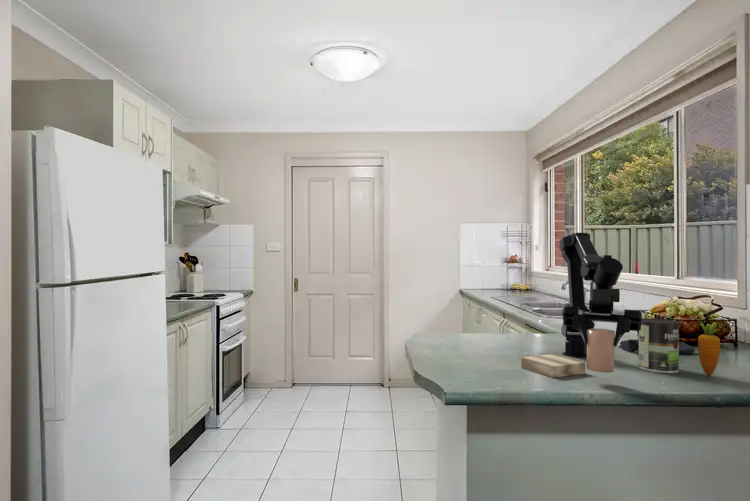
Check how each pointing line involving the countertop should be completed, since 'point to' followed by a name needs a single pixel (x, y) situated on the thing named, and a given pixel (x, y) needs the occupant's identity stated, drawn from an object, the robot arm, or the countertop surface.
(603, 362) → the terracotta canister
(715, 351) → the carrot
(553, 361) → the oak slab
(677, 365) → the coffee can
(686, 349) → the dark slate chunk
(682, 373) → the countertop surface
